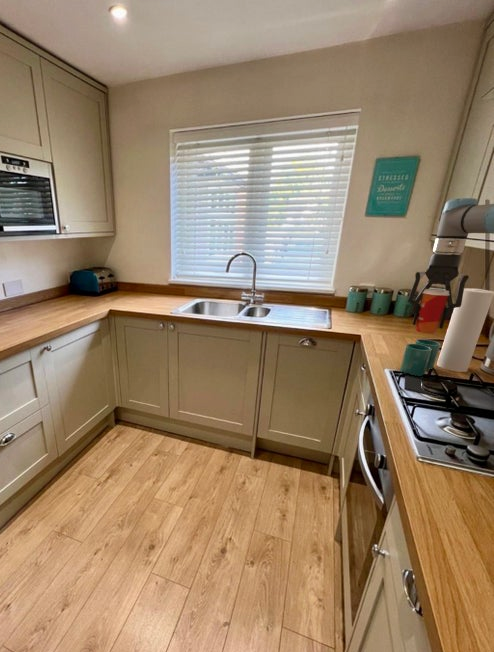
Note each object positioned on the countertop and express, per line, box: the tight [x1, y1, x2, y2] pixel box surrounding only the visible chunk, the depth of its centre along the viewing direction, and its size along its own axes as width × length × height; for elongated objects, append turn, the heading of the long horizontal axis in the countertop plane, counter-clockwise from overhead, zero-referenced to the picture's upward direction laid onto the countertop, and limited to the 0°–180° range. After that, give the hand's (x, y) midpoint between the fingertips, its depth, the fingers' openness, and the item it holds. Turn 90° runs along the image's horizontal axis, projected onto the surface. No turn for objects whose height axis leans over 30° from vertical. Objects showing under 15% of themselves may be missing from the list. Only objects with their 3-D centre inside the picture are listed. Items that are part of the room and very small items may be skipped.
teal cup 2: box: [414, 338, 441, 372], centre depth 125 cm, size 7×7×10 cm
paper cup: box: [415, 287, 450, 335], centre depth 108 cm, size 8×8×14 cm
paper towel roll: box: [436, 287, 494, 373], centre depth 122 cm, size 9×9×30 cm
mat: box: [403, 375, 440, 397], centre depth 110 cm, size 12×12×1 cm
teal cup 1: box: [399, 343, 432, 377], centre depth 119 cm, size 7×7×10 cm
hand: (427, 325), depth 110 cm, fingers closed on paper cup, 7 cm apart
